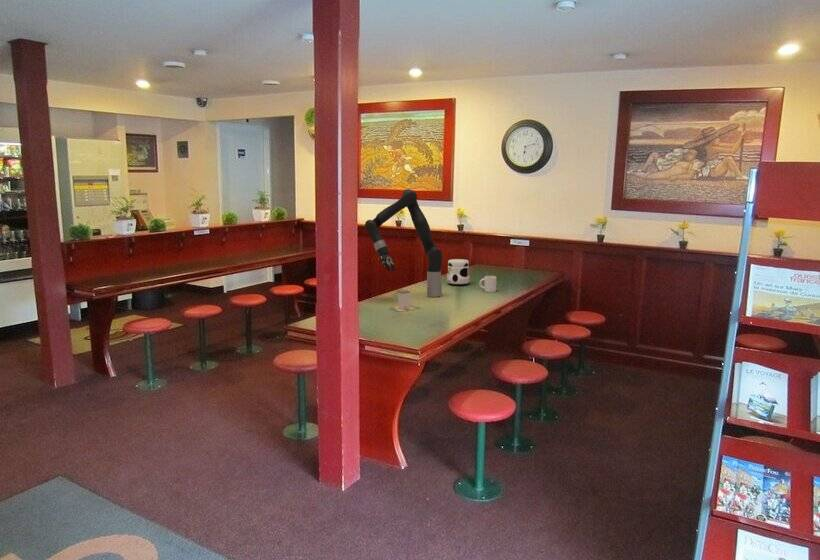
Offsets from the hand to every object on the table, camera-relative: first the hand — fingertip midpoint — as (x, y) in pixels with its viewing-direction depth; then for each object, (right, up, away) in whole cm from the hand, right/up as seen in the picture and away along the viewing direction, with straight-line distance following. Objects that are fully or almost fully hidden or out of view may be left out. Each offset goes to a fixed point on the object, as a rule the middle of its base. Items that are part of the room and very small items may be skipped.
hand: (391, 270), depth 371 cm
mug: (+67, -14, +37) cm, 77 cm away
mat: (+8, -24, -14) cm, 28 cm away
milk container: (+48, -9, +61) cm, 78 cm away
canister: (+8, -23, -14) cm, 28 cm away
